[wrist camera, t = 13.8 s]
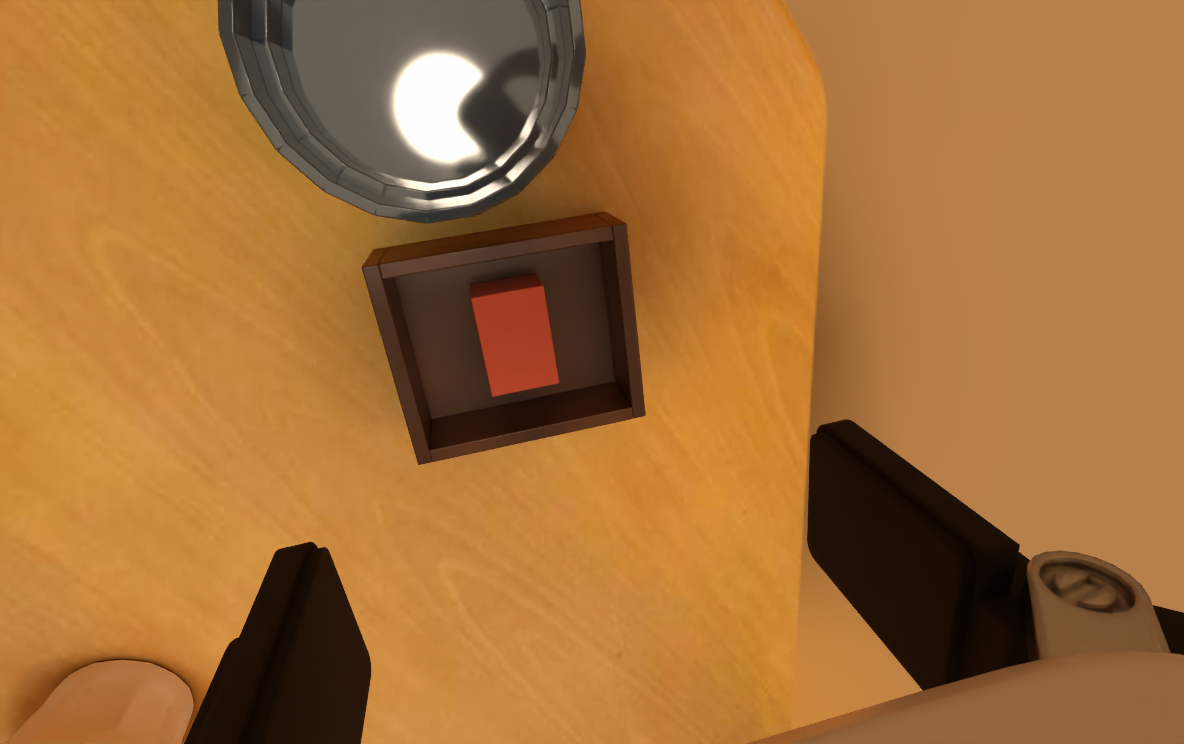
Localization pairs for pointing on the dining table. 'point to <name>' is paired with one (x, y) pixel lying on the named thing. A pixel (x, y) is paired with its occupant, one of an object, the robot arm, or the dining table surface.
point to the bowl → (410, 95)
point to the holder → (452, 346)
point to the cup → (112, 707)
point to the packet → (514, 334)
